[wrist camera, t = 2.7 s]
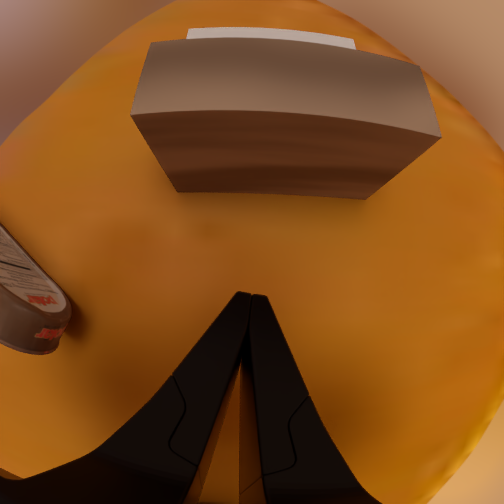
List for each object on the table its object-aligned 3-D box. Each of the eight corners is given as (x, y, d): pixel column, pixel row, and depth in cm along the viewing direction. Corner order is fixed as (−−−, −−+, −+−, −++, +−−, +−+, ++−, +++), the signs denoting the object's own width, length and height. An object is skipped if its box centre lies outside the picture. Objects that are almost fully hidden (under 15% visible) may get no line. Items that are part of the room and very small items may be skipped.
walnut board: (365, 199, 19) (441, 137, 10) (177, 192, 18) (130, 114, 9) (359, 145, 19) (419, 66, 10) (183, 137, 19) (151, 42, 10)
